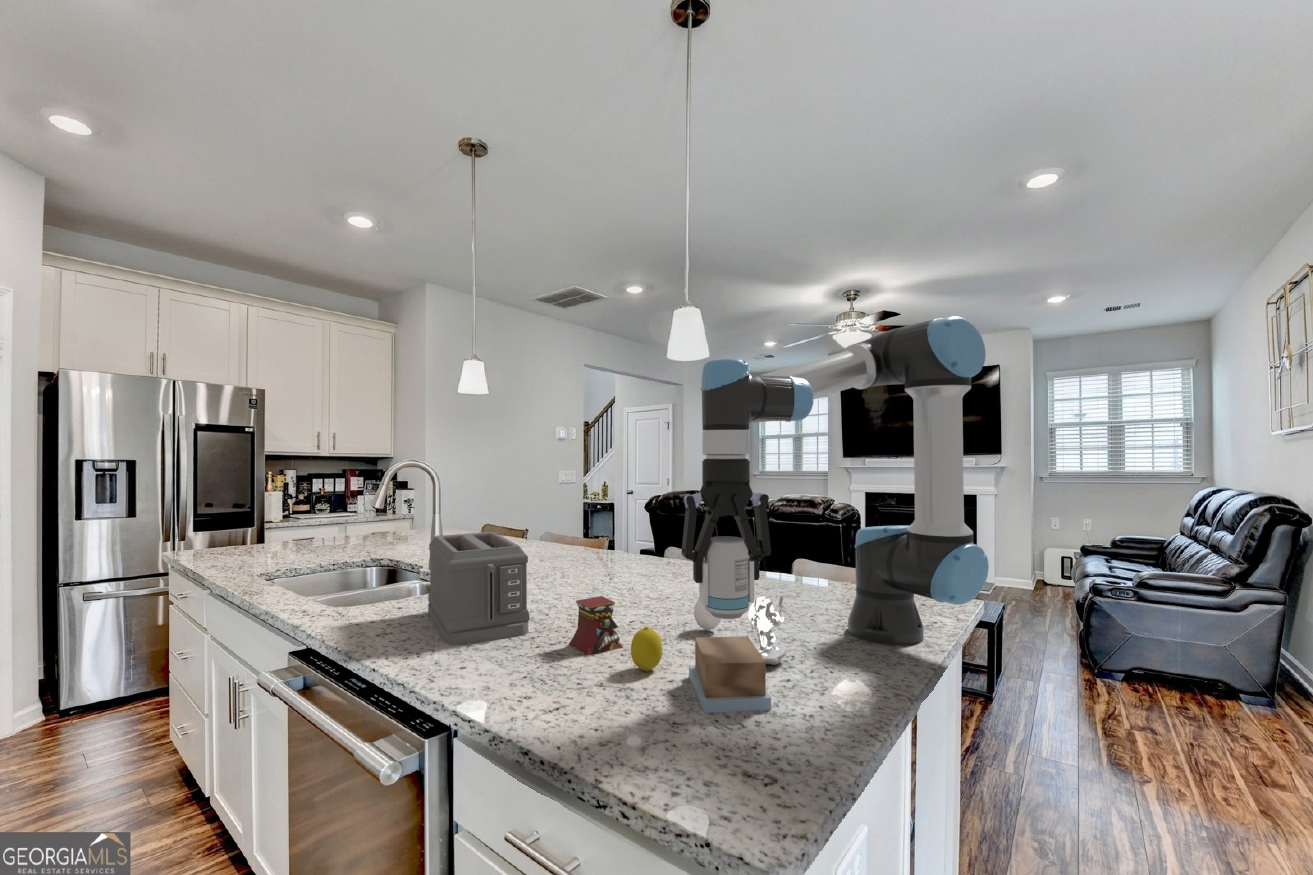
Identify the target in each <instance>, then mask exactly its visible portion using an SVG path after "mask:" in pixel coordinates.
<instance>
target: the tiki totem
mask: <svg viewBox="0 0 1313 875" xmlns="http://www.w3.org/2000/svg"><path fill="white" fill-rule="evenodd" d="M575 603H576V604H577V606H578V613H577V614H578V617H577V628H576V630H575V633H574V634H573V637H572V639H571V640H570V641H569V643H568V645H569V646H571V647H572V648H574V649H575V650H577V651H579V652H581V653H583V654H585V655H586V656H591V655H596V654H601V653H605V652H609V651H614V650H618V649H623V648H624V646H623V644H622V643H621V641H620V640H621V639H620V636H619V634H618V633H617V632H616V630H615V629H618V628H619V626H618V624H617V623H616V621H614V619H613V613H614V609H615V606H616V602H615V601H613V600H612V599H609V598H607V597H604V596H603V595H600V596H594V597H589V598H588V597H587V598H584V599H579V600H578V599H577V600H575Z"/></svg>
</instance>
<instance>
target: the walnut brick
mask: <svg viewBox="0 0 1313 875" xmlns="http://www.w3.org/2000/svg"><path fill="white" fill-rule="evenodd" d="M694 640H695V641H694V642H695V644H694V648H695V649H694V650H695V651H694V652H695V655H694V658H695V662H694V665H695V668H696V671H697V674H698V677H699V680H700V683H701V686H702V689H703V692H704V694H705V697H706V698H717V697H752V696H766V691H767V690H766V689H767V688H766V685H767V684H766V682H767V681H766V664H765V661H764V660H763V658H762V657H761V655H760V654H759V652H758V651H757V650H758V648H756V646H755V644H754V643H753V641H752V640H751V639H750V636H747V635H745V636H739V635H738V636H708V637H707V636H704V637H703V636H700V637H695V639H694Z"/></svg>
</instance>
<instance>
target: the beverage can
mask: <svg viewBox="0 0 1313 875" xmlns="http://www.w3.org/2000/svg"><path fill="white" fill-rule="evenodd" d="M748 558H749V555H748V549H747V547H746V545H745V543H744V539H743V538H742V537H739V536H733V535H731V536H730V535H729V536H728V535H724V536H723V535H721V536H719V535H718V536H713V537H711V540H710V543H709V545H708V548H707V551H706V554H705V557H704V561H705V562H707V563H708V605H705V609H706V610H707V611H708V612H710V613H711V614H712V616H714V617H717V618H721V620H722V619H723V620H735V619H740V618H741V617H742V616H743V615H744V614H745V613H746V612H749V609H750V607H749V606H750V603H749V583H748Z"/></svg>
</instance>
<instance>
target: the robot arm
mask: <svg viewBox="0 0 1313 875" xmlns="http://www.w3.org/2000/svg"><path fill="white" fill-rule="evenodd" d="M986 353H987V352H986V346H985V342H984V339H983V336H982V335H981V333H980V331H979V329H977V328H976V327H975V325H974V324H973V323H972V322H971V321H970V320H968V319H966V318H964V317H961V316H948V317H939V318H938V317H937V318H934V319H931V320H926V321H923V322H918V323H914V324H911V325H906V326H901V327H898V328H897V327H896V328H893V329H889V330H887V331H885V332H882V333H879V334H878V335H875V336H873V337H870V338H868V339H865V340H862V341H860V342H856V343H851V344H850V345H847V346H846V347H845V348H844V349H843V351H842V352H839V353H838V352H837V353H835V354H831V355H827V356H825V357H820V358H818V359H813V360H811V361H806V362H803V363H799V364H796V365H792V366H789V367H784V368H781V369H778V370H774V371H771V372H767V373H763V374H760V375H759V374H758V375H757V374H753V373H751V370H750V365H749V362H748V361H747V360H744V359H738V358H720V359H713V360H710V361H707V362H706V363H705V364H704V365H703V367H702V374H701V387H700V391H701V421H702V424H701V425H702V440H701V442H702V446H701V451H702V452H701V453H702V455H703V456H705V458H703V460H702V461H701V463H702V464H701V467H702V468H701V469H702V470H701V472H702V478H701V479H702V485H701V488H700V490H699V492H697V493H693V494H685V495H684V496H683V497H682V499H683V503H684V508H685V514H684V523H683V534H682V543H681V552H680V553H681V555H682V557H684V558H685V559H686V560H690V561H692V570H693V571H692V577H693V578H692V579H693V581H694V583H696V584H698V586H699V587H698V590H699V591H698V592H699V593H698V594H699V595H698V596H699V597H698V599H699V601H700V602H701V603H702V604H703V605H708V563H707V562H705V554H706V551H707V548H708V545H709V543H710V540H711V537H712V536H713V533H714V531H715V528H716V524H717V523H718V521H719V518H720V517H725V516H732V517H733V518H734V519H735V521H736V524H737V527H738V530H739V533H740V535H741V538H743V539H744V543H745V545H746V547H747V549H748V583H749V604H751V603H752V604H753V603H754V600H755V581H759V580H760V576H761V575H760V562H761V561H762V560H763V558H764V557H769V556H771V554H772V546H771V538H770V537H771V536H770V529H769V521H768V520H769V519H768V511H767V510H768V509H767V508H768V504H769V500H770V497H769V495H768V494H767V493H762V492H753V490H752V488H751V484H750V481H751V474H750V471H751V470H750V469H751V468H750V467H751V465H750V464H751V462H750V461H751V460H749V459H748V458H747V456H748V455H750V453H751V451H750V450H751V448H750V446H751V445H750V443H751V442H750V424H751V423H763V422H765V423H767V422H786V423H790V422H799V421H803V420H804V419H806V418H807V417H808V416H809V415H810V413H811V412H812V409H813V406H814V400H816V399H819V398H823V397H827V396H829V395H833V394H836V393H839V392H841V391H845V390H849V389H852V388H854V389H857V390H864V389H868V388H872V387H877V386H886V385H887V386H888V385H904V392H905V393H907V394H908V395H909V396H910V397H911V398H912V400H913V406H912V407H913V465H914V466H913V468H914V471H913V472H914V474H913V475H914V480H913V481H914V482H913V483H914V520H913V522H912V523H911V524H910V525H902V524H901V525H881V526H879V525H877V526H868V527H867V526H866V527H862V528H860V529H858V530H857V531H856V534H855V544H854V556H855V557H854V559H855V562H854V564H855V591H856V592H855V598H854V600H853V604H852V606H851V609H850V613H849V616H848V619H847V631H848V633H849V634H850V635H851V636H853V637H854V638H857V639H860V640H862V641H866V642H870V643H874V644H879V645H880V644H881V645H892V646H909V645H914V644H918V643H920V642H922V641H923V640H924V639H925V637H924V636H925V634H924V632H925V630H924V629H925V628H924V625H923V621H922V619H921V616H920V613H919V610H918V607H917V605H916V601H915V595H916V596H920V597H924V598H927V599H931V600H934V601H935V602H938V603H941V604H943V603H947V604H951V605H956V606H957V605H958V606H960V605H965V604H968V603H970V602H971V601H973V600H975V598H977V596H979V594H980V592H981V591H983V588H984V586H985V585H986V582H987V579H988V575H989V567H990V566H989V565H990V564H989V559H988V556H987V554H986V552H985V551H984V548H982V547H980V546H979V545H977V544H975V543H974V531H973V530H972V529H971V528H970V527H969V526H968V525H967V524H966V523H965V506H964V504H965V503H964V502H965V501H964V500H965V499H964V492H965V491H964V488H965V487H964V433H963V432H964V429H963V428H964V427H963V426H964V425H963V424H964V422H963V421H964V420H963V419H964V418H963V416H964V415H963V414H964V413H963V398H964V396H965V394H966V393H968V392H969V391H970V390H971V389H972V378H973V377H975V376H976V375H978V374H979V373H980V372H981V371H982V369H983V366H984V365H985V362H986V356H987V355H986ZM750 500H751V504H752V505H753V506H754V507H753V510H754V512H753V513H754V519H755V521H754V522H755V527H756V529H755V530H756V538H757V541H756V540H755V536H754V534H753V530H752V528H751V525H750V523H749V517H748V514H747V511H746V506H747V505H748V504H749V502H750ZM701 501H702V502H703V503H704V504H705V506H706V508H707V509H706V513H705V515H704V521H703V524H702V526H701V529H700V532H699V535H698V538H697V541H696V545H695V547H694V542H695V534H696V533H695V532H696V525H697V524H696V523H697V512H698V511H697V509H698V508H699V507H700V502H701ZM756 542H757V543H756Z"/></svg>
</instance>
